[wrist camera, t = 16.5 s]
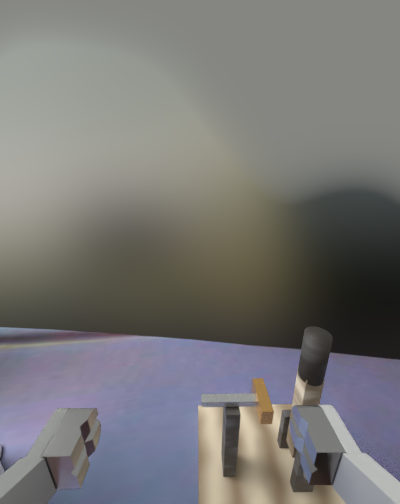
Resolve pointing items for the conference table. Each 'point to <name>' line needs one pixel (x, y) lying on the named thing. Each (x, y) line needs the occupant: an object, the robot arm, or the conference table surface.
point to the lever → (310, 371)
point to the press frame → (252, 460)
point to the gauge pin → (245, 401)
